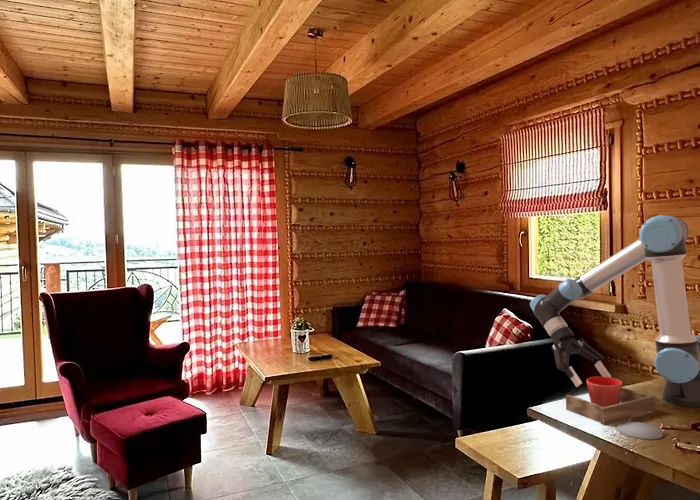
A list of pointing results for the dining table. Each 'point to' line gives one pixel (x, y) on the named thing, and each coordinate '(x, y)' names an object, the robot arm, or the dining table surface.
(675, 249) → the robot arm
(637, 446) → the dining table surface
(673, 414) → the dining table surface
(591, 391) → the flower pot
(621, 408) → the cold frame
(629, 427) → the slate mat
